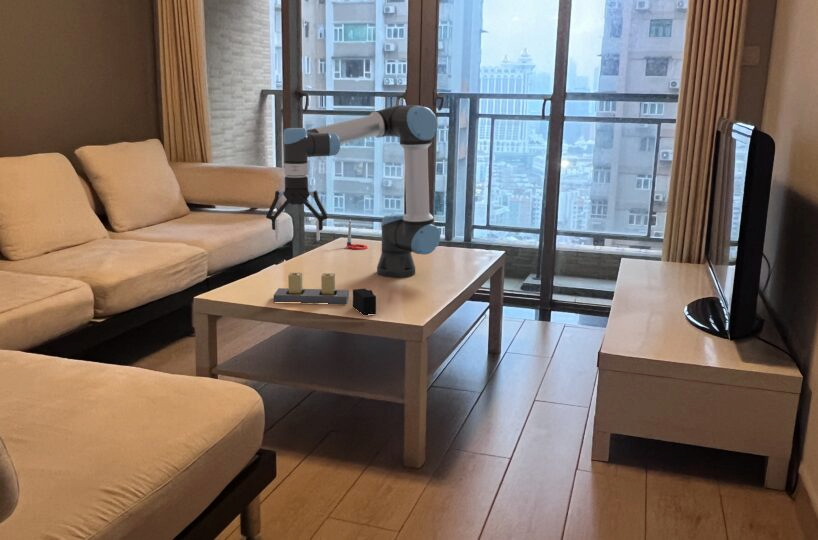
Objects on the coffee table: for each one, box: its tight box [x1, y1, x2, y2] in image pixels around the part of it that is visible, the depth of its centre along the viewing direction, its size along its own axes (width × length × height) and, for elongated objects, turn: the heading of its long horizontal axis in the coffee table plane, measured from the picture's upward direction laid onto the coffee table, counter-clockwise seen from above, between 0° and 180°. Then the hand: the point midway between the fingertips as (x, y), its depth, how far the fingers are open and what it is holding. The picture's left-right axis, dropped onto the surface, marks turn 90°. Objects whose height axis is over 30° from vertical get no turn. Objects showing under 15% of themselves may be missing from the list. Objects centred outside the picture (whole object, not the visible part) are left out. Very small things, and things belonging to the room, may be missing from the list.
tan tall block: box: [287, 272, 303, 294], centre depth 256 cm, size 4×4×9 cm
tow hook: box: [345, 219, 368, 251], centre depth 345 cm, size 8×13×9 cm
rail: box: [273, 287, 350, 304], centre depth 257 cm, size 24×9×4 cm, turn 89°
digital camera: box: [352, 287, 377, 316], centre depth 246 cm, size 10×5×7 cm, turn 23°
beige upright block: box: [320, 272, 336, 295], centre depth 256 cm, size 4×4×9 cm
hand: (297, 239), depth 256 cm, fingers open, 13 cm apart
